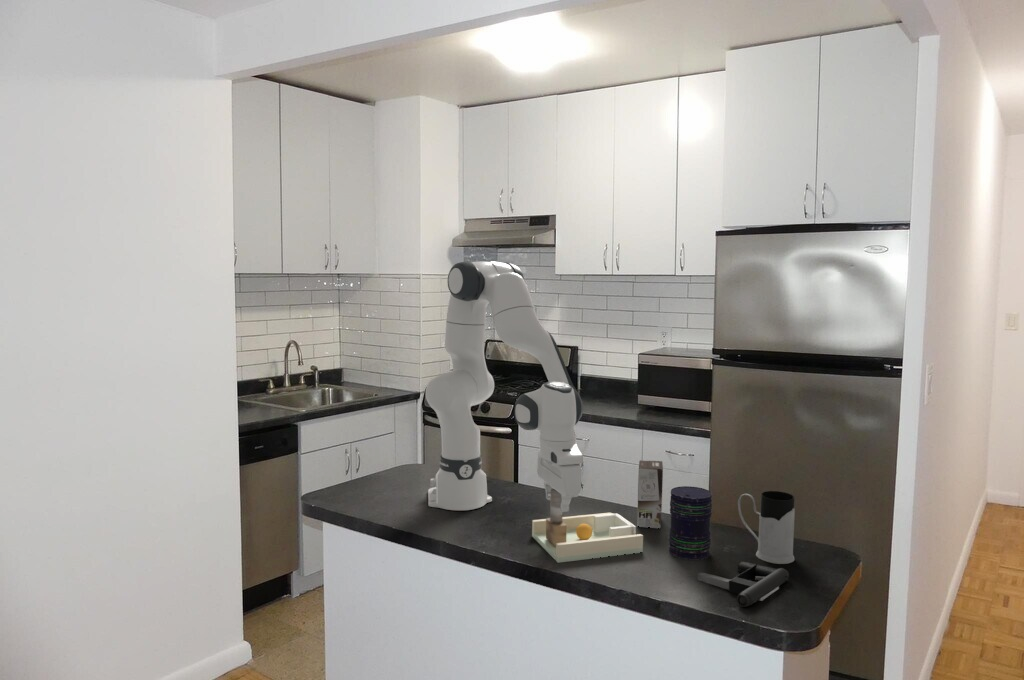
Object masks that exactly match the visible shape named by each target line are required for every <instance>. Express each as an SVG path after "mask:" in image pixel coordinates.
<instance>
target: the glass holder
mask: <svg viewBox="0 0 1024 680" xmlns="http://www.w3.org/2000/svg"><path fill="white" fill-rule="evenodd" d="M760 495H761V496H760V512H759V511H757V504H756V503H757V502H756V499H755V498H754V497H753V495H752V494H749V493H743V494H741V495H740V496H739V497H738V500H737V510H738V515H739V518H740V519H741V522H742V524H743V525H744V526H745V528H746V529H747V531H748V532H749V533H750V534H751V535H752V536H753V537H754V539H755V540H756V541H757V545H758V546H757V551H756V553H755V556H756V557H757V558H758V559H759V560H762V561H763V562H767V563H771V564H776V565H777V564H778V565H782V564H783V565H785V564H786V565H787V564H790V563H793V562H794V561H795V560H796V559H795V556H794V536H795V534H794V533H795V512H796V509H795V496H794V495H793V494H792V493H787V492H785V491H779V490H778V491H776V490H768V491H762V492H761V494H760ZM743 496H748V498H750V499H751V501H752V503H753V511H754V513H755V514H757V515H759V516H758V517H759V518H758V519H759V521H758V523H759V524H758V536H757V535H756V533H755V532H754V531H753V530H752V529H751V528H750V527H749V525H748V524H747V522H746V521H745V519H744V517H743V514H742V510H741V498H742V497H743Z"/></svg>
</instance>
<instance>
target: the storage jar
mask: <svg viewBox="0 0 1024 680" xmlns="http://www.w3.org/2000/svg"><path fill="white" fill-rule="evenodd" d="M712 497H713V493H712V491H711V490H708V489H707V488H706V489H705V488H702V487H698V486H691V485H690V486H688V485H687V486H686V485H684V486H683V485H682V486H676V487H673V488H672V489H671V490H670V500H669V507H670V508H669V513H670V528H669V535H668V541H669V547H668V552H669V554H671V555H672V554H673V555H672V556H674V557H676V558H678V557H679V558H678V559H682V558H683V559H682V560H688V559H689V561H700V560H699V559H701V560H705V559H708V558H709V557H710V556H711V555H710V552H711V551H710V549H711V540H712V539H711V531H710V529H711V528H710V527H711V526H710V525H711V517H712V508H713V505H712V504H713V503H712V499H713V498H712ZM708 556H709V557H708ZM704 558H705V559H704Z"/></svg>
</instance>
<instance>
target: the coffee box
mask: <svg viewBox="0 0 1024 680" xmlns="http://www.w3.org/2000/svg"><path fill="white" fill-rule="evenodd" d="M638 462H639V464H638V477H637V478H638V479H637V480H638V481H637V513H636V514H637V518H636V520H637V522H636V527H638V526H639V528H648V527H650V528H649V529H658V528H659V529H661V523H662V511H663V510H662V509H663V485H664V484H663V483H664V482H663V481H664V480H663V479H664V476H663V475H664V473H663V472H664V466H663V465H664V464H663V461H662V460H641V459H640V460H639V461H638Z"/></svg>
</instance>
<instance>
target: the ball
mask: <svg viewBox="0 0 1024 680" xmlns="http://www.w3.org/2000/svg"><path fill="white" fill-rule="evenodd" d="M576 534H577V536H578V538H579V539H581V540H588V539H589V538H590V537H591V536H592V528H591V527H590V526H589V525H588V524H580V525H579V526H578V527H577V529H576Z"/></svg>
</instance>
